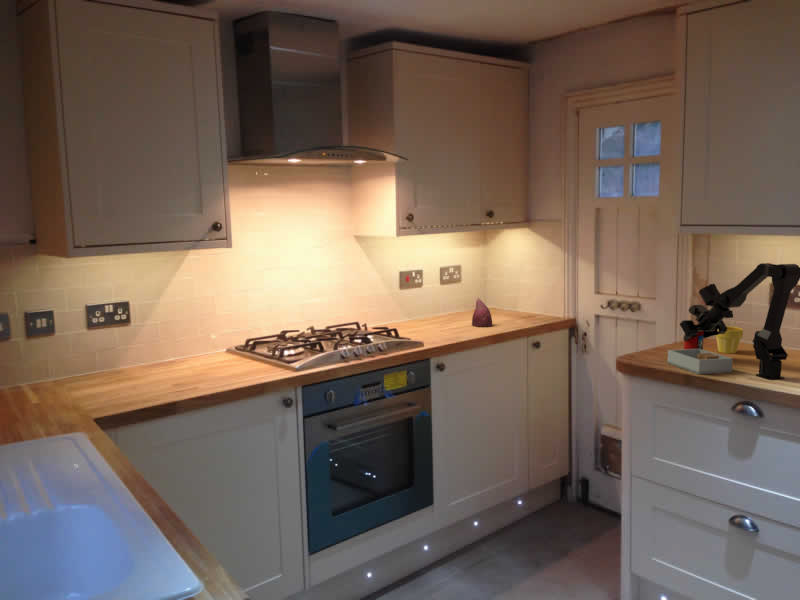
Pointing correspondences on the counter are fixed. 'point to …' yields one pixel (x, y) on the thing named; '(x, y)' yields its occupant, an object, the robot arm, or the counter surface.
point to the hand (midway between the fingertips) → (691, 339)
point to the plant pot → (729, 340)
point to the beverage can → (695, 341)
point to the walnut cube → (707, 356)
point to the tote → (699, 361)
